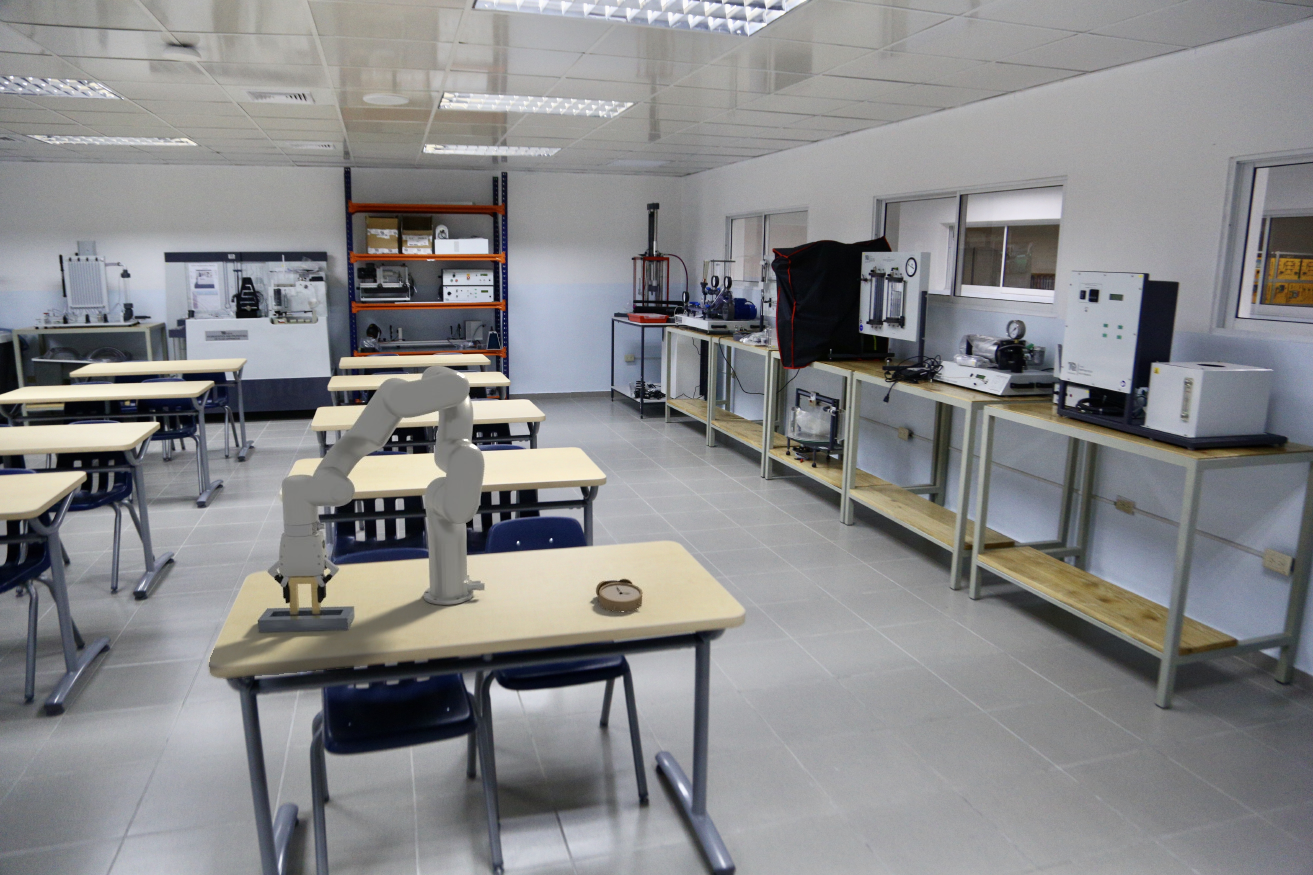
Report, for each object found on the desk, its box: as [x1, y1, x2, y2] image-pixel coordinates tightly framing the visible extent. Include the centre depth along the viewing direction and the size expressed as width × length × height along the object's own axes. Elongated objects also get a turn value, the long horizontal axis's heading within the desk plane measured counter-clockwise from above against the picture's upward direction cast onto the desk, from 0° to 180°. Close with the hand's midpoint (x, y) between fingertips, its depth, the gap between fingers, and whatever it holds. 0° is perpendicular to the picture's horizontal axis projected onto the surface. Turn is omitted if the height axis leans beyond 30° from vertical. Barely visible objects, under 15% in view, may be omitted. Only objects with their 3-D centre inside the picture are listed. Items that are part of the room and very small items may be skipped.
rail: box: [257, 605, 355, 633], centre depth 201 cm, size 20×7×3 cm, turn 97°
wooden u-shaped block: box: [288, 576, 322, 615], centre depth 199 cm, size 7×2×9 cm, turn 97°
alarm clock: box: [595, 578, 644, 613], centre depth 220 cm, size 11×5×15 cm
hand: (305, 600), depth 200 cm, fingers closed on wooden u-shaped block, 6 cm apart
